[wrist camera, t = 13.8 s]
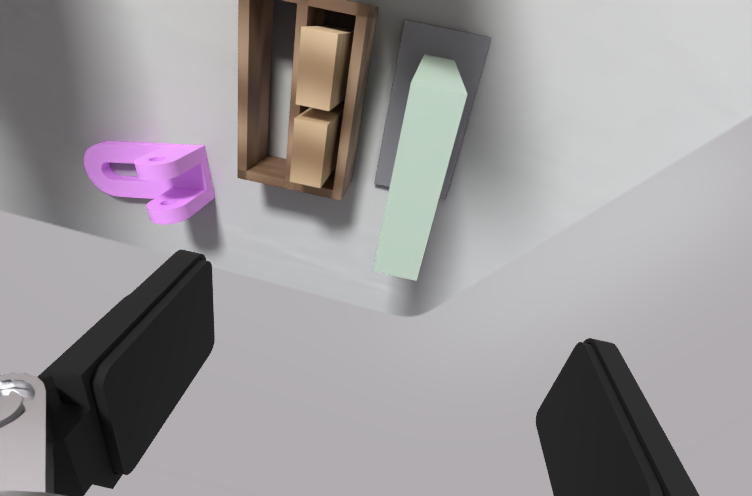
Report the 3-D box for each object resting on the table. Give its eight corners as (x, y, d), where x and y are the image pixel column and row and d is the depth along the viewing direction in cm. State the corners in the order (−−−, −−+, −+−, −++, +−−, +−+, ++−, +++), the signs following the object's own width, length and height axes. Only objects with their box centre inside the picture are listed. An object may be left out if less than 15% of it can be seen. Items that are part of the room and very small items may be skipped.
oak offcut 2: (321, 99, 37) (294, 118, 30) (348, 105, 37) (327, 125, 30) (316, 153, 39) (289, 181, 32) (341, 158, 39) (320, 188, 32)
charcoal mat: (405, 19, 33) (404, 19, 32) (490, 37, 33) (491, 37, 32) (375, 181, 40) (374, 183, 39) (445, 196, 40) (445, 199, 39)
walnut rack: (265, -17, 33) (238, -22, 29) (378, 7, 33) (369, 4, 28) (259, 161, 41) (237, 177, 36) (351, 181, 40) (340, 200, 36)
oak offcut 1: (329, 25, 34) (301, 26, 27) (358, 31, 34) (338, 34, 27) (322, 88, 36) (295, 104, 29) (350, 94, 36) (329, 111, 29)
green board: (424, 54, 33) (410, 82, 18) (454, 60, 33) (467, 94, 18) (399, 169, 38) (372, 271, 23) (425, 175, 38) (416, 280, 23)
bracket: (205, 144, 41) (164, 166, 35) (215, 197, 43) (179, 225, 37) (86, 139, 42) (27, 158, 36) (103, 190, 45) (51, 216, 39)
